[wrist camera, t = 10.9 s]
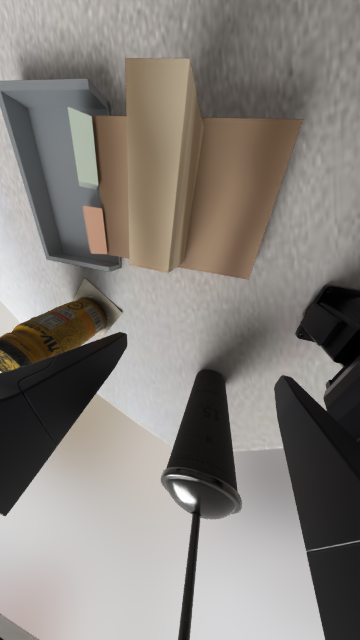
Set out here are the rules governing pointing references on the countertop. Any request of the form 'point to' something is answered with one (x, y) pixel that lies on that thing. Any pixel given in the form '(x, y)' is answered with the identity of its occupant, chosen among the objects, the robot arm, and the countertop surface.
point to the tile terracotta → (95, 229)
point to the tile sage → (84, 148)
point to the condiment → (58, 329)
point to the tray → (54, 163)
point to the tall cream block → (161, 159)
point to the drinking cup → (202, 470)
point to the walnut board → (207, 189)
